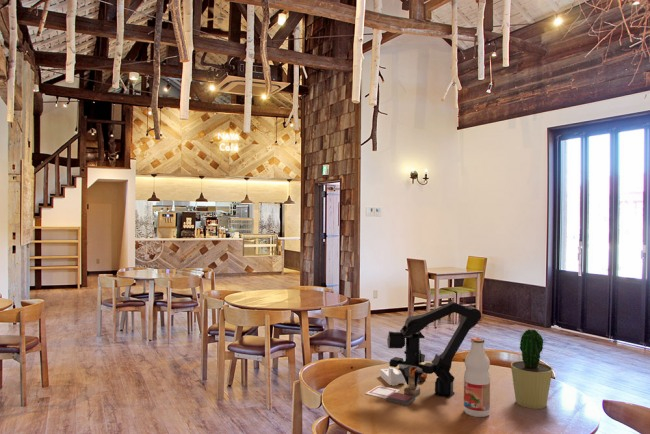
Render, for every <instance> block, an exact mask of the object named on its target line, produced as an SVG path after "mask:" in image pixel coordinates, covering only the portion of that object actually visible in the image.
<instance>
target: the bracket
mask: <svg viewBox="0 0 650 434" xmlns="http://www.w3.org/2000/svg"><path fill="white" fill-rule="evenodd" d="M379 371H380V372H379V376H380V377H381V378H382V379H383V380H384V381H385V382H386V383H387V384H388V385H392V386H399V384H407V383H406V381H405V378H404V376H403V374H402V373H401V371H400V370H398V369H396V367H391V366H389V367H388V368H380V370H379ZM392 386H391V387H392Z"/></svg>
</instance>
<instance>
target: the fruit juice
mask: <svg viewBox="0 0 650 434" xmlns="http://www.w3.org/2000/svg"><path fill="white" fill-rule="evenodd" d="M470 343H471V345H470V346H471V347H470V350H469V351H468V353H467V355H466V356H465V359H464V365H465V371H464V375H463V411H464V413H465V414H466V415H468V416H471V417H474V418H485V417H488V416H489V415H490V413H491V412H490V411H491V410H490V409H491V405H490V404H491V377H490V376H491V375H490V372H489V369H490V366H491V361H490V359H489V357H488V356H487V354H486V351H485V349H484V348H485V347H484V344H485V339H484V338H483V337H479V336H478V337H477V336H476V337H475V336H474V337H471V338H470Z"/></svg>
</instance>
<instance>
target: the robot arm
mask: <svg viewBox="0 0 650 434" xmlns="http://www.w3.org/2000/svg"><path fill="white" fill-rule="evenodd" d="M453 313H455V314H458V315H460V321H459V324H458V326H457V327H456V329H455V330H454V333H453V335H452V336H451V338H450V340H449V341H448V343H447V345H446V347H445V349H444V350H443V352H442V353H441V354H437V353H436V354H435V356H434V358H433V360H431V362H426V363H425V359H426V355H425V354H423V353H422V350H421V349H420V347H421V346H420V345H421V343H420V342H421V339H425V335H424V334H423V333H422V331H423V330H424V329H425V328H426V327H427V326H429V325H430V324H432V323H434V322H436V321H438V320H441V319H443V318H445V317H448V316H449V315H452V314H453ZM481 319H482V312H481V311H480V310H479V309H478V308H476V307H474V306H471V305H468V306H465V305H462V304H461V303H457V302H455V301H453V300H451V301H449V302H448V303H445V304H443V305H441V306H439V307H437V308H434V309H432V310H430V311H428V312H426V313H423V314H417V315H412V316H409V317H407V318H406V319H405V321H404V324H403V326H402V328H400V330H399V331H393V330H392V331H388V335H387V341H386V342H387V348H388V349H403V348H405V350H404V351H403V352H404V353H403V354H405V360H404V358H402V357H399V356H395V357H392V358H391V359H390V360H389V361H388V362H389V367H391V368H397V367H398V368H397V370H398V371H401V373H402V374H403V376H404V378H405V381H406V383H405V384H406V385H407V386H408V377H409V370H410V367H413V368H417V371H415V387H418V385H419V382H420V381H419V380H420V377H421V375H422V374H423V373H427V375H432V374H435V376H436V377H437V378H436V379H435V382H434V395H436V396H441V397H445V398H451V397H452V396H453V395H454V394H455V391H454V381H455V376H454V375H453V374H452V373H451V372H450V371H451V369H452V362H453V359H454V357H455V355H456V354H457V352H458V350H459V349H460V348H461V346H462V344H463V342H464V340H465V338H466V337H467V335H468V334H469V332H470V330H471V329H472V328H474V327H475V326H476V325H477V324H478V323H479V322H480V321H481ZM419 363H422V364H419ZM423 364H424V365H423ZM415 365H416V366H415Z"/></svg>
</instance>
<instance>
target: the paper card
mask: <svg viewBox="0 0 650 434" xmlns="http://www.w3.org/2000/svg"><path fill="white" fill-rule="evenodd" d="M400 391H401V390H400V389H397V388H393V387H388V386H383V385H377V386H376V387H374V388H372V389H371V390H369V391H366V392H365V395H368V396H372V397H377V398H380V399H385V400H386V398H387V397H388V396H390V395H391V394H393V393H394V392H397V393H400Z"/></svg>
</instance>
